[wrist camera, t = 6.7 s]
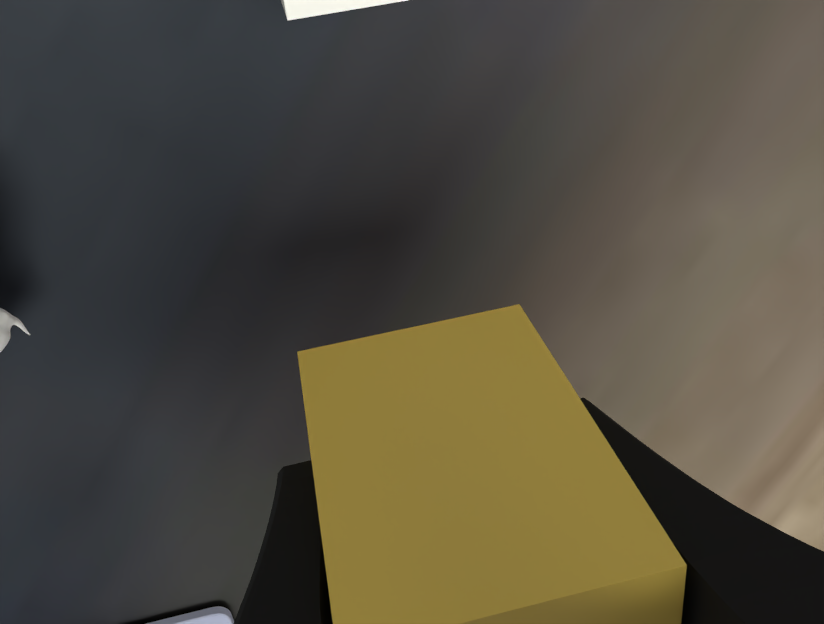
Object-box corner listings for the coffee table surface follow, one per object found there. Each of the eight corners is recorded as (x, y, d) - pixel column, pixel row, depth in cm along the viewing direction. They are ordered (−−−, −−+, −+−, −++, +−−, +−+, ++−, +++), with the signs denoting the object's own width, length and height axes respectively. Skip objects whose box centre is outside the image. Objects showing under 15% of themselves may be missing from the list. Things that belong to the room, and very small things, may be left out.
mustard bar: (528, 469, 16) (668, 758, 11) (337, 515, 15) (388, 836, 10) (519, 304, 14) (686, 565, 9) (297, 351, 13) (337, 655, 8)
